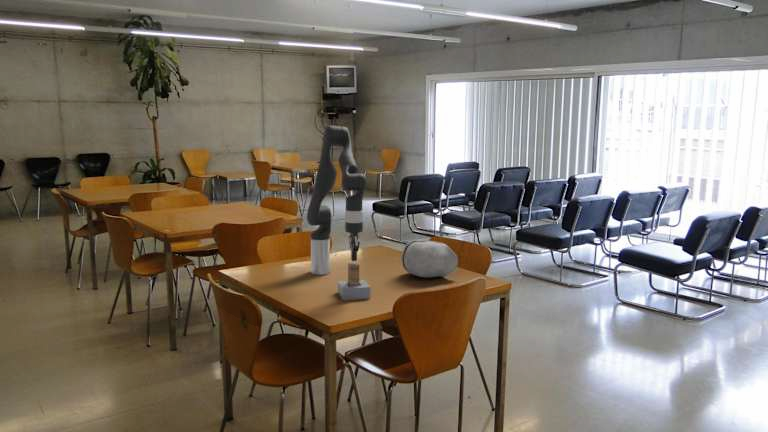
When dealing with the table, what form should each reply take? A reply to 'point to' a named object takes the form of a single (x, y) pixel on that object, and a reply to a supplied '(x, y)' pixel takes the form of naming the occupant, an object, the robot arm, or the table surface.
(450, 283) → the table surface
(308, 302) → the table surface
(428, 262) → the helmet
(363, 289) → the socket
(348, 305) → the table surface
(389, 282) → the table surface
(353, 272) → the peg
